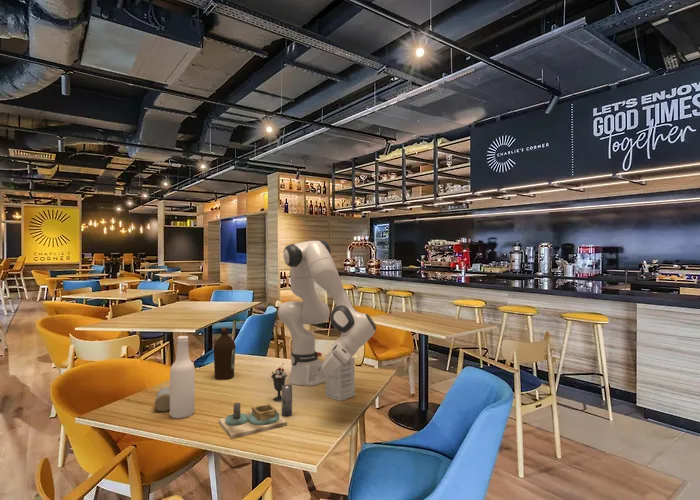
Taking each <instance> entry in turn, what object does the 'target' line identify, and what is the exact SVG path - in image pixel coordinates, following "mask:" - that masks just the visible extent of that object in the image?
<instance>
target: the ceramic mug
mask: <svg viewBox="0 0 700 500" xmlns="http://www.w3.org/2000/svg"><path fill="white" fill-rule="evenodd" d="M154 406H155V408H156V410H158V411H159V412H164V413H165V412H169V411H170V386H165V387H162V388H160V389H159V390H158V392H157V394H156V397H155V400H154Z"/></svg>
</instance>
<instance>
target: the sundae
mask: <svg viewBox="0 0 700 500" xmlns="http://www.w3.org/2000/svg"><path fill="white" fill-rule="evenodd" d="M284 365H285V363H282V365H281V366H280V367H278V368H277V369H275V371H274V372H273V371H272V372H271V373H272V375H271V379H272V382H273V387H274V390H275V391H276V392H277V396H276V397H274V398H273V401H274V402H282V385H285V382H286V377H287V376H288V374H286V372H285V368H284V367H283V366H284ZM281 367H282V368H281Z"/></svg>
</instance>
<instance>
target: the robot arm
mask: <svg viewBox="0 0 700 500" xmlns="http://www.w3.org/2000/svg"><path fill="white" fill-rule="evenodd" d="M331 254H332V252H331V246H330V245H329V243H328V241H326V240H325V239H324V240H323V239H321V240H320V239H317V240H306V241H303V242H298V243H290V244H288V245H286V246H285V247H284V249H283V260H284V262H285V263H284V264H286V265H287V267H289V275H290V277H289V278H290V290H291V292H292V294H293V295H294V296H296V297H299V298H300V299H301V300H302V301H296V300H295V301H294V300H293V301H286V302H282V303H280V305H279V307H278V310H277V316H278V319H279V320H280V321H281V322H282V324H284V325H285V326H286V327H287V329H288V331H289V334H290V336H291V346H292V347H291V349H292V350H291V356H290V358H291V360H290V361H291V370H290V375H289V379H288V383H289V384H291V385H297V386H308V387H313V386H317V385H320V384H324V383H326V376H329V375H330V374H331V373H333V372H334V371H335V370H336V369H337V368H338V367H340V366H341V365H342V364H343V363H344V364H345V363H346V362H347V361H348V360H349V359H350V358H351V357H353V356H354V355H355V354H357V352H358V351H359V349H360V348H361V347H362V346H364V345H365V344H366V343H368V342H369V340H370V339H371V338H372V337H373V336H374V335H375V333H376V331H377V326H376V323H375V321H374V320H373V318H372V317H371V316H370V315H369V314H367V313H362V312H359V311H357V310H356V309H355V307H354V306H353V304H352V301H351V299H350V297H349V296H348V294H347V292H346V290H345V287H344V285H343V283H342V280H341V277H340V275H339V272H338V269H337V267H336V266H337V265H336V264H335V261H334V260H333V257H332V255H331ZM314 282H315V283H316V284H317V285H318V286H319V287H320V288H322V289H323V290H324V291H325V292H326V293H327V294H329V296H330V297H331V299H332V300H333V302H334V304H335V306H336V307H333V310H331V311H330V307H329V306H328V304H327V303H326V302H325V301H323V300H321V298H320V297H319V295H318V294H317V291H316V289H315V283H314ZM328 320H330V323H331V326H333V327H334V328H335V329H336V330H337V331H339V332H340V333H341V334H340V335H339V337H337V339H336V340H334V342H333V343H332V344H331V346H332V348H331V349H330V351H329V352H327V354H326V355H325V357H324V359H323V361H322V360H321V359H319V358H320V357H322V356H323V353H322V352H318V351H316V348H315V347H316V344H315V343H316V338H315V335H314V334H313V332H311V331H309V330H307V329H306V328H305V327H304V325H319V324H324V323H326V322H328Z"/></svg>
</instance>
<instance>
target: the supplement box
mask: <svg viewBox="0 0 700 500" xmlns="http://www.w3.org/2000/svg"><path fill="white" fill-rule="evenodd" d="M355 375H356V374H355V357H353V356H352V357H351V358H350V359H349V360H348V361H347V362H346V363H345V364H344V363H343V364H342V365H341V366H340V367H338V368H337V369H336V370H335V371H334V372H333V373H331V374H330V375H329V376H326V382H325V397H326V398H331V399H333V400H336V401H339V402H343V401H345V400H348V399H350V398H353V397H355V395H356V392H355V387H356V386H355V385H356V384H355Z"/></svg>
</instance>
